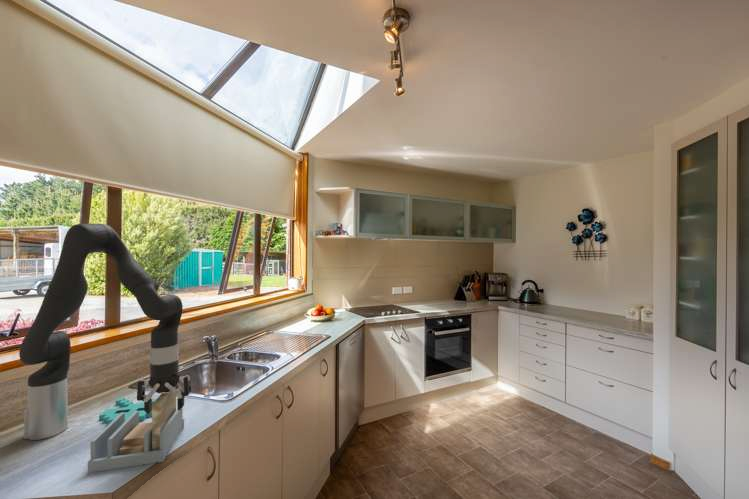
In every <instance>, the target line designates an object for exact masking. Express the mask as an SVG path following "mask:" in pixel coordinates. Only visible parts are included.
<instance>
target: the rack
mask: <svg viewBox="0 0 749 499" xmlns="http://www.w3.org/2000/svg"><path fill="white" fill-rule="evenodd" d="M183 408H184V406H183V407H182V408H181V410H178V408H177V407H176V411H175V413H174V414H173V415H172V417H171V418H170V419H169V421H168V422H167V424H166V425H165V426H164V428H163V429H162V430H161V432H160V450H156V451H152V425H151V427H150V428H149V429H148V430H147V432H146V433H145V434H144V452H141V453H134V454H127V455H120V448H121V447H122V446H123V439H124V438H125V437H126V436H127V435H128V434H129V433H130V432H131V431H132V430H133V429H134V428H135V427H136V426H137V425H138V424H139V423H140V421H139V411H135V412H134V413H133V414H132V415H131V416H130V417H129V418H128V419H127V420H126V421H125V412H121V413H120V414H119V415H118V416H117V417H116V418H115V419H114V420H113V421H112V422H111V423H110V424H109V425H107V426H105V427H104V428H103V429H102V430H101V431H100V432H99V433H98V434H97V435H95V437H94V438H93V439H92V440H91V441H90V459H89V460H88V461H87V473H88V474H90V473H96V472H97V473H98V472H102V471H103V472H104V471H110V470H117V469H124V468H131V467H136V465H138V466H142V464H145V465H150V463H151V464H155V463H154V462H158V463H163V462H164V461H165V458H166V457H167V455H168V454H167V452H168V451H169V452H170V450H171V449H170V447H171V446H172V447H173V445H174V444H175V442H176V441H175V440H177V439H176V438H178V437H179V436H180V434H181V433H182V431H183V430H184V428H185V418H184V416H183V413H184V412H183V410H184V409H183ZM178 435H179V436H178ZM177 436H178V437H177ZM174 441H175V442H174ZM173 443H174V444H173ZM172 444H173V445H172ZM172 447H171V448H172ZM169 449H170V450H169ZM169 452H168V453H169ZM166 454H167V455H166ZM119 455H120V456H119ZM165 456H166V457H165ZM130 466H131V467H130Z"/></svg>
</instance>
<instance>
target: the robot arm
mask: <svg viewBox="0 0 749 499" xmlns="http://www.w3.org/2000/svg"><path fill="white" fill-rule="evenodd" d="M61 246H62V248H61V252H60V255H59V259H58V262H57V265H56V268H55V270H54V273H53V276H52V279H51V281H50V283H49V284H48V287H47V290H46V292H45V294H44V298H43V300H42V303H41V305H40V307H39V310H38V312H37V314H36V316H35V319H34V321H33V322H32V324H31V326H30V328H29V329H28V331H27V332H26V334H25V336H24V338H23V340H22V342H21V345H20V348H19V352H18V353H19V360H20V362H21V363H23V364H24V365H27V366H34V365H39V364H44V363H45V364H44V365H43V366H42V367H41V368H39V369H38V370H36V371H35V372H33V373H32V374H31V373H30V375H29V376H28V378H27V408H25V409H24V411H23V439H24V440H31V441H39V440H44V439H48V438H52V437H54V436H57V435H59V434H61V433H63V432H64V431H66V430H67V428H68V423H69V420H68V418H69V417H68V413H69V412H68V411H69V410H68V408H69V407H68V404H69V403H68V400H69V399H68V398H69V397H68V373H69V370H70V365H71V364H70V362H71V360H70V359H71V339H70V336H69V334H68V333H67V332H66V331H63V330H56V329H57V328H58V327H59V326H60V325H61V324H62V323H64V322H65V321H67V320H68V319H69V318H70V317H71V316H72V315H74V314H75V313H76V312H77V311H78V310H79V309H80V308H81V306H82V304H83V302H84V300H85V297H86V296H87V292H88V290H89V284H88V281H87V279H86V276H85V275H84V271H83V266H84V264H85V261H86V259H87V257H88V256H89V254H94V253H104V254H106V255H107V256H108V257H110V258H111V259H112V260H113V263H114V264H115V267H116V272H117V274H116V275H117V276H118V280H119V282H120V283H121V285H122V286H123V287H124V288H125V289H126V290H128V292H130V293H131V295H133V296H134V297H135V299H136V301H137V303H138V305H139V307H140V308H141V311H142V312H143V314H144V315H145V316H146V317H147V318H148V319H151V320H153V321H158V324H157V325H156V326H155V327H154V328H152V330H151V332H150V351H149V378H147V379H146V378H144V377H143V378H141V379H140V380H139V381H137V390H136V400H137V402H140V401H142V402H143V403H144V411H145V412H146V414H149V413H150V412H151V411H152V399H153V398H152V397H153V396H154V395H155V393H157V394H162V393H163V392H170V391H171V392H172V393H173V394H175V395H176V409H177V408H178V410H181V408H182V407H183V408H184V406H185V397H187V396H189V395H190V394H191V392H192V384H191V383H192V382H191V375H190V374H188V373H187V374H186V375H182V376H181V375H180V371H179V370H180V368H179V367H180V366H179V364H180V363H179V361H180V360H179V359H180V358H179V357H180V353H179V343H178V342H179V339H178V338H179V334H178V333H179V332H178V330H179V326H180V322H181V320H182V315H183V308H184V307H183V302H182V300H181V298H180V297H179V296H178V295H177V294H167V295H166V294H165V295H161V296H160V295H159V293H158V291H159V289H160V285H159V283H158V282H157V281H156V279H155V278H153V276H152V275H150V274H149V273H148V271H146V270H145V268H143V266H141V265H140V263H139V262H138V261H137V260H136V258H135V257H134V255H133V254H132V253H131V250H129V248H128V246H126V244H125V243H124V242H123V240H122V238H121V237H120V236H119V234H118V233H117V232H116V230H114V228H113V227H111V226H110V225H109V224H105V223H77V224H74V225H72V226H71V227H69V229H68V230H67V232H66V234H65V237H64V239H63V243H62V245H61ZM55 330H56V331H55ZM179 382H181V383H182V384H183V388H182V386H181V385H180V384H179ZM148 385H149V386H150V387H151V390H150V391H149V392H148V393H147V394H146V387H147V386H148Z"/></svg>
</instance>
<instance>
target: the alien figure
mask: <svg viewBox="0 0 749 499" xmlns="http://www.w3.org/2000/svg"><path fill="white" fill-rule="evenodd" d="M151 399H152V404H153V403H154V402H155V400H156V399H157V398H151ZM115 406H118V407H115V408H107V409H104V411H103V412H101V413H100V414H99V415H98V419H99V420H98V421H102V423H104V424H105V423H106V425H107V426H108V425H109V424H110V423H111V422H112V421H113V420H114V419H115V418H116V417H117V416H118V415H119V414H120V413H121V412H125V421H126V420H127V419H128V418H129V417H130V416H131V415H132V414H133V413H134V412H135V411H139V422H144V421H145V420H146V419H147V418H152V411H151V412H150V413H149V414H146V412H145V411H144V402H138V403H133V401H130V400H129V399H126V397H119V398H117V399H115Z"/></svg>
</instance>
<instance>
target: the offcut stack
mask: <svg viewBox="0 0 749 499" xmlns="http://www.w3.org/2000/svg"><path fill="white" fill-rule="evenodd" d="M151 425H152V421H151V422H139V424H138V425H137V426H136V427H135V428H134V429H133V430H132V431H131V432H130V433H129V434H128V435H127V436H126V437H125V438H124V439H123V446H122V447H121V448H120V455H127V454H134V453H141V452H144V434H145V433H146V432H147V430H148V429H149V428H150V427H151ZM120 455H119V456H120Z"/></svg>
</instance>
